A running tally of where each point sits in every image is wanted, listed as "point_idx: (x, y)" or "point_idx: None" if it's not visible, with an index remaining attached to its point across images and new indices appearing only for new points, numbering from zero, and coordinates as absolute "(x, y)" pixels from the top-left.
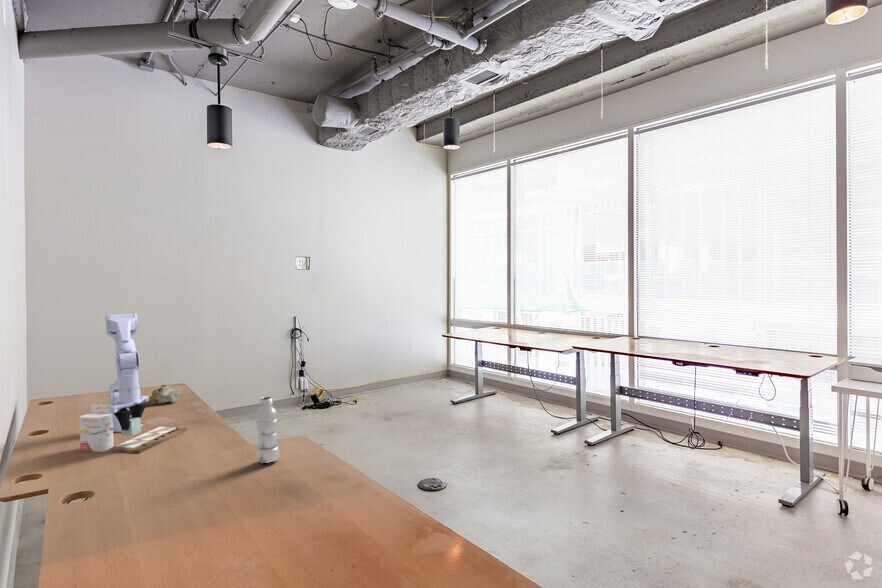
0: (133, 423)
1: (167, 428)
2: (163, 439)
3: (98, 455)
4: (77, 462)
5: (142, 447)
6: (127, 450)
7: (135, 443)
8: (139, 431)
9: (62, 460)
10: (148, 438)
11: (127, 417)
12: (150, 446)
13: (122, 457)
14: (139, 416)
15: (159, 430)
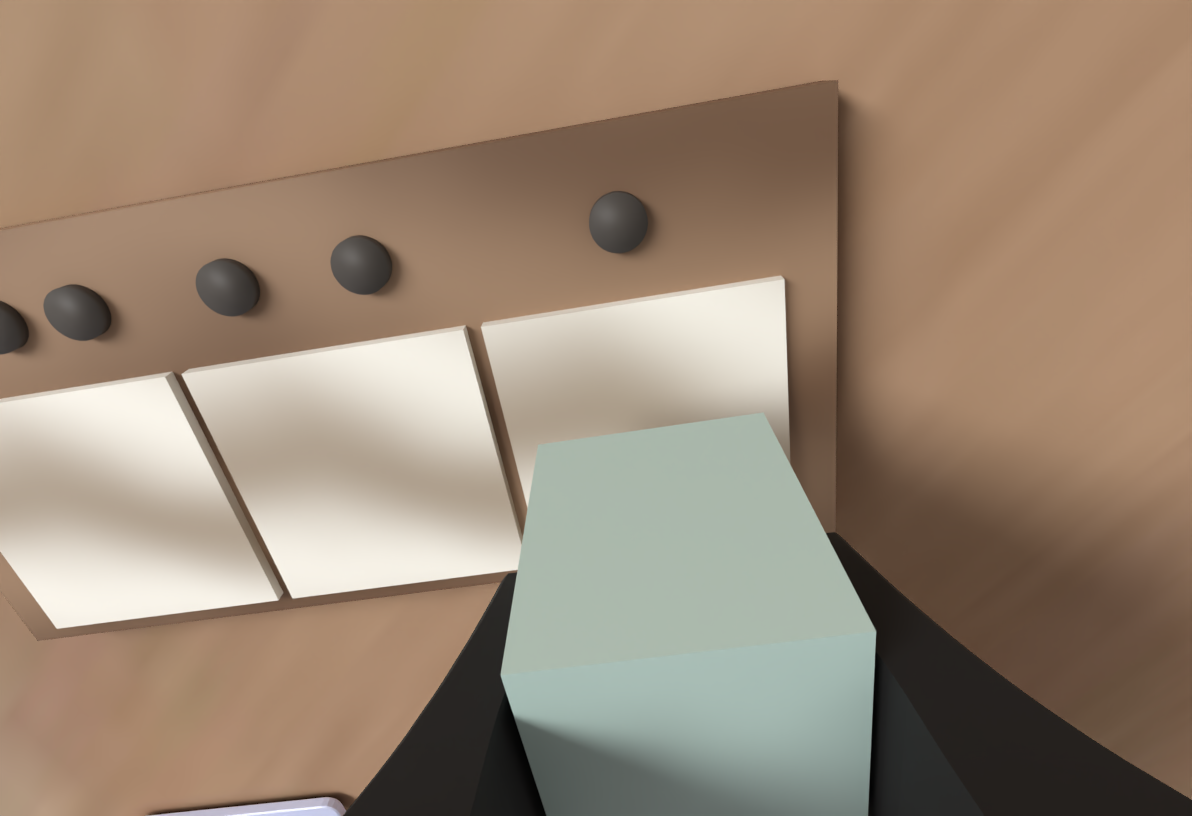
0: (768, 570)
1: (18, 494)
2: (299, 176)
3: (949, 530)
4: (1159, 549)
5: (720, 150)
6: (830, 303)
7: (635, 387)
8: (576, 451)
9: (1091, 701)
10: (416, 391)
11: (1114, 782)
12: (591, 122)
13: (1006, 187)
14: (492, 732)
15: (134, 523)
